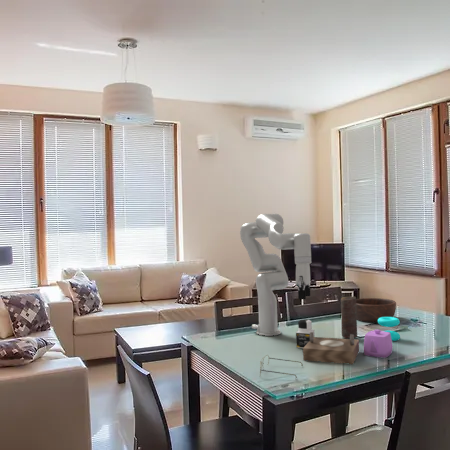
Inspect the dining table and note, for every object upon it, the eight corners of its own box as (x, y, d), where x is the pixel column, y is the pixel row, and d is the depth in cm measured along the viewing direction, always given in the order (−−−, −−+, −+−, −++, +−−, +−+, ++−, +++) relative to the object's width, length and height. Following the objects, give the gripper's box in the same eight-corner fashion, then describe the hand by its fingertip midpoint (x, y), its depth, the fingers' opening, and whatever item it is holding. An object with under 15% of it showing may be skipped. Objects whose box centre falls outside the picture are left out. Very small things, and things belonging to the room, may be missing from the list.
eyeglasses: (265, 365, 189) (265, 353, 189) (302, 367, 185) (302, 355, 185) (256, 378, 174) (256, 365, 174) (297, 381, 170) (296, 367, 170)
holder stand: (303, 360, 193) (302, 337, 193) (313, 347, 212) (312, 327, 212) (353, 364, 186) (352, 340, 186) (359, 351, 204) (358, 329, 204)
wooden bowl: (348, 315, 284) (348, 298, 284) (391, 314, 281) (390, 297, 281) (354, 323, 259) (353, 305, 259) (401, 323, 256) (400, 304, 256)
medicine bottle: (296, 347, 213) (295, 321, 213) (299, 343, 220) (298, 318, 220) (311, 348, 211) (310, 322, 211) (315, 344, 217) (314, 319, 217)
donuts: (396, 321, 216) (374, 319, 222) (397, 342, 216) (375, 340, 222) (402, 317, 224) (381, 315, 230) (402, 338, 224) (381, 335, 230)
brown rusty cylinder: (358, 340, 223) (356, 298, 223) (342, 340, 224) (340, 298, 224) (356, 336, 230) (355, 295, 230) (341, 336, 232) (340, 295, 232)
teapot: (385, 361, 189) (384, 335, 189) (359, 357, 195) (358, 333, 195) (396, 350, 204) (395, 326, 204) (371, 347, 210) (370, 324, 210)
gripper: (299, 259, 225) (300, 294, 224) (290, 261, 209) (291, 300, 208) (314, 258, 222) (316, 295, 222) (306, 261, 206) (308, 300, 206)
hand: (304, 297), depth 215 cm, fingers open, 9 cm apart
